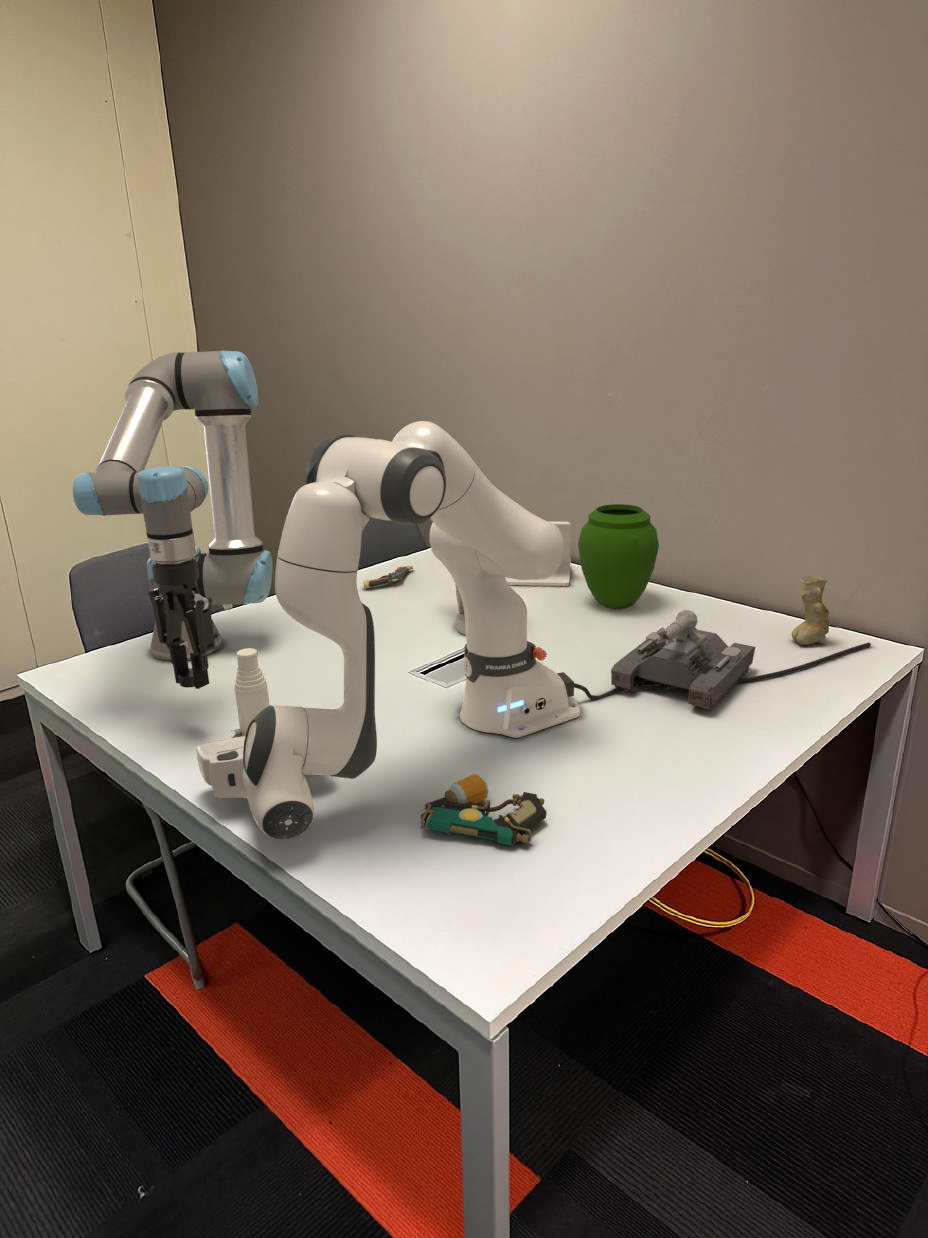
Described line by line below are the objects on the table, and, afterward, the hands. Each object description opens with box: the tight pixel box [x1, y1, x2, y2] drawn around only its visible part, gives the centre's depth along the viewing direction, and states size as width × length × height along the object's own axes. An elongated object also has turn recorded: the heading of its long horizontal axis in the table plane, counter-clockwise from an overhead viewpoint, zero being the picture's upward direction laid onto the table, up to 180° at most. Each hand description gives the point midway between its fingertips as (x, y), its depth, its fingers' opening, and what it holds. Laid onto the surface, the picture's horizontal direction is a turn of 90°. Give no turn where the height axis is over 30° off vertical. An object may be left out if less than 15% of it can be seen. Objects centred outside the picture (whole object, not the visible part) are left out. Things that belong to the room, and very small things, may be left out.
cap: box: [178, 667, 195, 689], centre depth 154 cm, size 4×4×2 cm
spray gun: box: [420, 773, 547, 846], centre depth 126 cm, size 4×17×15 cm
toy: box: [610, 609, 756, 711], centre depth 169 cm, size 25×20×15 cm
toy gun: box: [362, 565, 414, 589], centre depth 238 cm, size 3×19×10 cm
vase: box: [577, 503, 660, 610], centre depth 210 cm, size 20×20×24 cm
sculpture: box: [791, 575, 830, 646], centre depth 185 cm, size 6×7×15 cm
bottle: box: [234, 647, 271, 736], centre depth 141 cm, size 5×5×21 cm
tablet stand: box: [505, 521, 572, 587], centre depth 236 cm, size 18×25×17 cm
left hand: (192, 683), depth 154 cm, fingers closed on cap, 4 cm apart
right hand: (255, 729), depth 144 cm, fingers closed on bottle, 5 cm apart
